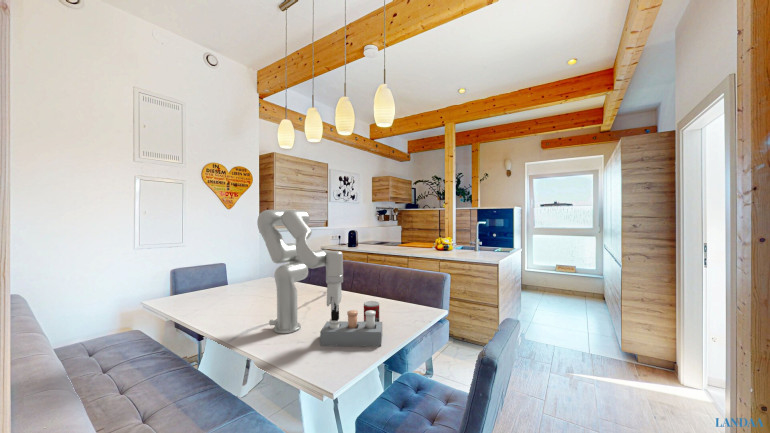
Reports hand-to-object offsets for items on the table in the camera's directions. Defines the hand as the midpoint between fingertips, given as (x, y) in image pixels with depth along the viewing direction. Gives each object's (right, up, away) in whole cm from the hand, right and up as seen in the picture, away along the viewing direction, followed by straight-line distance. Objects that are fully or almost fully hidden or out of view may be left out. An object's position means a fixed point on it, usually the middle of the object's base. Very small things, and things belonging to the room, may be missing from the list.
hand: (335, 319), depth 130 cm
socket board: (+8, -9, 0) cm, 12 cm away
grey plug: (+16, -4, 0) cm, 16 cm away
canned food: (+15, -9, +18) cm, 25 cm away
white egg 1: (0, -8, 0) cm, 8 cm away
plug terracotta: (+8, -4, 0) cm, 9 cm away
